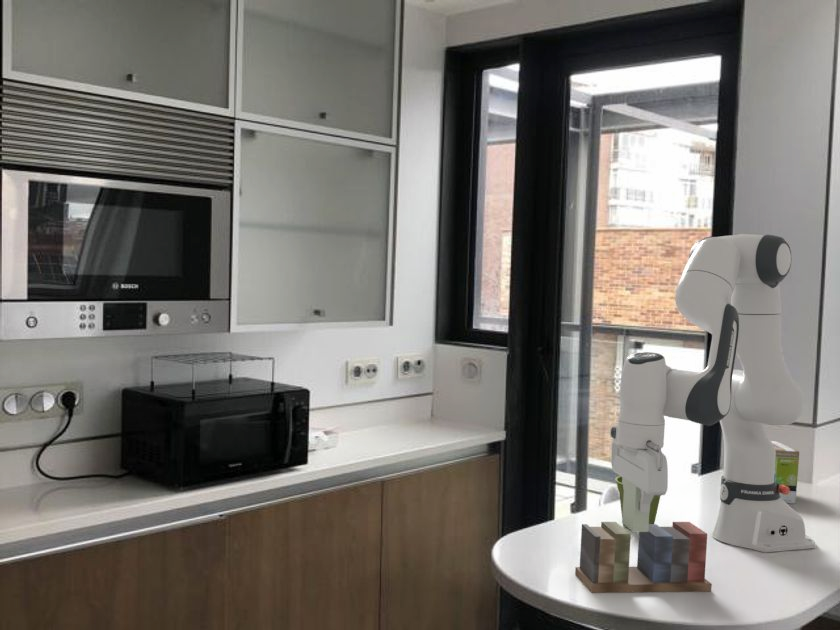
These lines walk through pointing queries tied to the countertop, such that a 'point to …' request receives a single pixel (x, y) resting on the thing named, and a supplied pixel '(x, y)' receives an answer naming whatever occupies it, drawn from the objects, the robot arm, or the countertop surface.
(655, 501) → the plant pot
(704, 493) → the countertop surface
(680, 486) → the countertop surface
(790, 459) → the tea box
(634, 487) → the pale green box
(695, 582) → the book rack
